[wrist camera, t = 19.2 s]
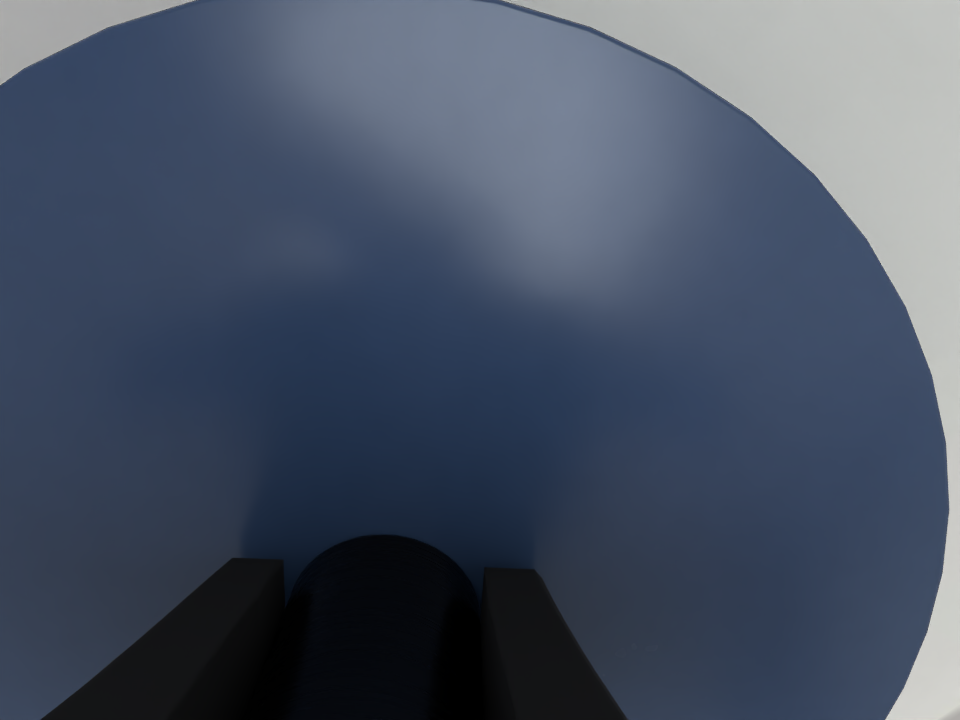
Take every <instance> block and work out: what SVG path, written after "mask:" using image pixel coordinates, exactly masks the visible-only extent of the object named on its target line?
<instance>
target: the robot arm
mask: <svg viewBox="0 0 960 720" xmlns="http://www.w3.org/2000/svg"><path fill="white" fill-rule="evenodd" d="M284 611H285V585H284V560H282V559H256V558H231V559H230V560H229V561H228V562H227V563H226V564H224V565H223V566H222V567H221V568H220V569H219V570H217V571H216V572H215V573H214V574H213V575H211V576H210V577H209V578H208V579H207V580H206V581H204V582H203V583H202V584H201V585H200V586H199V587H198V588H196V589H195V590H194V591H193V592H192V593H191V594H190V595H188V596H187V597H186V598H185V599H184V600H183V601H182V602H180V603H179V604H178V605H177V606H176V607H175V608H174V609H173V610H171V611H170V612H169V613H168V614H167V615H166V616H165V617H163V618H162V619H161V620H160V621H159V622H158V623H157V624H155V625H154V626H153V627H152V628H151V629H150V630H149V631H147V632H146V633H145V634H144V635H143V636H142V637H140V638H139V639H138V640H137V641H136V642H135V643H133V644H132V645H131V646H130V647H129V648H127V649H126V650H125V651H124V652H123V653H121V654H120V655H119V656H118V657H117V658H116V659H114V660H113V661H112V662H111V663H110V664H108V665H107V666H106V667H105V668H104V669H102V670H101V671H100V672H99V673H98V674H97V675H95V676H94V677H93V678H92V679H91V680H89V681H88V682H87V683H86V684H85V685H83V686H82V687H81V688H80V689H79V690H77V691H76V692H75V693H74V694H72V695H71V696H70V697H69V698H67V699H66V700H65V701H63V702H62V703H61V704H60V705H58V706H57V707H56V708H54V709H53V710H52V711H51V712H49V713H48V714H47V715H46V716H44V717H43V718H42V719H40V720H244V718H245V715H246V713H247V710H248V707H249V705H250V702H251V699H252V697H253V694H254V691H255V689H256V686H257V683H258V680H259V678H260V675H261V672H262V670H263V667H264V664H265V662H266V659H267V656H268V654H269V651H270V648H271V646H272V643H273V640H274V638H275V635H276V632H277V630H278V627H279V624H280V622H281V619H282V616H283V614H284ZM480 633H481V663H482V689H483V714H484V720H628V719H627V717H626V716H625V714H624V713H623V711H622V710H621V708H620V707H619V705H618V704H617V702H616V701H615V699H614V698H613V696H612V695H611V693H610V692H609V690H608V689H607V687H606V686H605V684H604V683H603V682H602V680H601V679H600V677H599V676H598V674H597V673H596V671H595V669H594V668H593V666H592V665H591V663H590V662H589V660H588V658H587V657H586V655H585V654H584V652H583V650H582V649H581V647H580V645H579V644H578V642H577V640H576V639H575V637H574V635H573V634H572V632H571V630H570V629H569V627H568V625H567V624H566V622H565V620H564V618H563V616H562V615H561V613H560V611H559V609H558V608H557V606H556V604H555V602H554V600H553V598H552V596H551V595H550V593H549V591H548V589H547V587H546V585H545V583H544V581H543V579H542V577H541V576H540V575H539V574H538V573H537V572H536V571H535V569H517V568H491V567H484V578H483V591H482V605H481V618H480Z"/></svg>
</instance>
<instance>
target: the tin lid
mask: <svg viewBox="0 0 960 720" xmlns="http://www.w3.org/2000/svg"><path fill="white" fill-rule="evenodd" d="M948 515H949V496H948V476H947V455H946V441H945V436H944V432H943V427H942V422H941V417H940V412H939V408H938V403H937V398H936V393H935V389H934V384H933V379H932V375H931V372H930V369H929V367H928V364H927V362H926V359H925V356H924V354H923V351H922V348H921V346H920V343H919V341H918V338H917V335H916V333H915V330H914V328H913V325H912V322H911V320H910V317H909V314H908V312H907V309H906V307H905V305H904V303H903V301H902V300H901V298H900V296H899V294H898V293H897V291H896V289H895V287H894V286H893V284H892V282H891V281H890V279H889V277H888V275H887V274H886V272H885V270H884V268H883V267H882V265H881V263H880V261H879V260H878V258H877V256H876V255H875V253H874V251H873V249H872V248H871V246H870V244H869V242H868V241H867V239H866V238H865V236H864V235H863V234H862V233H861V231H860V230H859V229H858V228H857V226H856V225H855V224H854V223H853V222H852V220H851V219H850V218H849V217H848V215H847V214H846V213H845V212H844V210H843V209H842V208H841V207H840V205H839V204H838V203H837V202H836V201H835V199H834V198H833V197H832V196H831V194H830V193H829V192H828V191H827V189H826V188H825V187H824V186H823V184H822V183H821V182H820V181H819V179H818V178H817V177H816V176H815V175H814V174H813V173H812V172H811V171H810V170H809V169H808V168H807V167H805V166H804V165H803V164H802V163H801V162H800V161H799V160H798V159H797V158H796V157H794V156H793V155H792V154H791V153H790V152H789V151H788V150H787V149H786V148H785V147H783V146H782V145H781V144H780V143H779V142H778V141H777V140H776V139H775V138H774V137H772V136H771V135H770V134H769V133H768V132H767V131H766V130H765V129H764V128H763V127H761V126H760V125H759V124H758V123H757V122H756V121H755V120H754V119H753V118H752V117H750V116H749V115H747V114H746V113H744V112H743V111H741V110H740V109H738V108H737V107H735V106H734V105H732V104H731V103H729V102H728V101H726V100H725V99H723V98H722V97H720V96H718V95H717V94H715V93H714V92H712V91H711V90H709V89H708V88H706V87H705V86H703V85H702V84H700V83H699V82H697V81H696V80H694V79H693V78H691V77H690V76H688V75H687V74H685V73H684V72H682V71H681V70H679V69H678V68H676V67H674V66H672V65H670V64H668V63H666V62H664V61H662V60H660V59H657V58H655V57H653V56H651V55H649V54H647V53H645V52H642V51H640V50H638V49H636V48H634V47H632V46H630V45H628V44H625V43H623V42H621V41H619V40H617V39H615V38H613V37H610V36H608V35H606V34H604V33H602V32H600V31H598V30H596V29H593V28H591V27H589V26H585V25H582V24H579V23H575V22H572V21H569V20H565V19H562V18H559V17H555V16H552V15H549V14H545V13H542V12H539V11H535V10H532V9H529V8H525V7H522V6H519V5H515V4H512V3H509V2H505V1H502V0H195V1H192V2H188V3H185V4H182V5H179V6H176V7H172V8H169V9H166V10H163V11H159V12H156V13H153V14H150V15H146V16H143V17H140V18H137V19H133V20H130V21H127V22H124V23H121V24H117V25H114V26H111V27H108V28H106V29H104V30H102V31H100V32H98V33H95V34H93V35H91V36H89V37H87V38H85V39H83V40H81V41H79V42H77V43H75V44H73V45H71V46H69V47H67V48H65V49H63V50H61V51H59V52H57V53H55V54H53V55H51V56H49V57H47V58H45V59H43V60H41V61H38V62H36V63H34V64H32V65H30V66H28V67H26V68H24V69H23V70H21V71H20V72H19V73H17V74H16V75H14V76H13V77H12V78H10V79H9V80H7V81H6V82H5V83H3V84H2V85H0V720H40V719H42V718H43V717H44V716H46V715H47V714H48V713H49V712H51V711H52V710H53V709H54V708H56V707H57V706H58V705H60V704H61V703H62V702H63V701H65V700H66V699H67V698H69V697H70V696H71V695H72V694H74V693H75V692H76V691H77V690H79V689H80V688H81V687H82V686H83V685H85V684H86V683H87V682H88V681H89V680H91V679H92V678H93V677H94V676H95V675H97V674H98V673H99V672H100V671H101V670H102V669H104V668H105V667H106V666H107V665H108V664H110V663H111V662H112V661H113V660H114V659H116V658H117V657H118V656H119V655H120V654H121V653H123V652H124V651H125V650H126V649H127V648H129V647H130V646H131V645H132V644H133V643H135V642H136V641H137V640H138V639H139V638H140V637H142V636H143V635H144V634H145V633H146V632H147V631H149V630H150V629H151V628H152V627H153V626H154V625H155V624H157V623H158V622H159V621H160V620H161V619H162V618H163V617H165V616H166V615H167V614H168V613H169V612H170V611H171V610H173V609H174V608H175V607H176V606H177V605H178V604H179V603H180V602H182V601H183V600H184V599H185V598H186V597H187V596H188V595H190V594H191V593H192V592H193V591H194V590H195V589H196V588H198V587H199V586H200V585H201V584H202V583H203V582H204V581H206V580H207V579H208V578H209V577H210V576H211V575H213V574H214V573H215V572H216V571H217V570H219V569H220V568H221V567H222V566H223V565H224V564H226V563H227V562H228V561H229V560H230V559H231V558H256V559H282V560H284V585H285V611H284V614H283V616H282V619H281V622H280V624H279V627H278V630H277V632H276V635H275V638H274V640H273V643H272V646H271V648H270V651H269V654H268V656H267V659H266V662H265V664H264V667H263V670H262V672H261V675H260V678H259V680H258V683H257V686H256V689H255V691H254V694H253V697H252V699H251V702H250V705H249V707H248V710H247V713H246V715H245V718H244V720H484V714H483V689H482V663H481V633H480V618H481V605H482V591H483V578H484V567H491V568H517V569H535V571H536V572H537V573H538V574H539V575H540V576H541V577H542V579H543V581H544V583H545V585H546V587H547V589H548V591H549V593H550V595H551V596H552V598H553V600H554V602H555V604H556V606H557V608H558V609H559V611H560V613H561V615H562V616H563V618H564V620H565V622H566V624H567V625H568V627H569V629H570V630H571V632H572V634H573V635H574V637H575V639H576V640H577V642H578V644H579V645H580V647H581V649H582V650H583V652H584V654H585V655H586V657H587V658H588V660H589V662H590V663H591V665H592V666H593V668H594V669H595V671H596V673H597V674H598V676H599V677H600V679H601V680H602V682H603V683H604V684H605V686H606V687H607V689H608V690H609V692H610V693H611V695H612V696H613V698H614V699H615V701H616V702H617V704H618V705H619V707H620V708H621V710H622V711H623V713H624V714H625V716H626V717H627V719H628V720H885V719H886V717H887V716H888V714H889V712H890V711H891V709H892V707H893V705H894V704H895V702H896V700H897V699H898V697H899V695H900V693H901V692H902V690H903V688H904V686H905V684H906V681H907V679H908V677H909V674H910V672H911V669H912V667H913V665H914V662H915V660H916V657H917V655H918V653H919V650H920V648H921V645H922V643H923V641H924V638H925V636H926V633H927V630H928V627H929V623H930V619H931V615H932V611H933V607H934V603H935V599H936V596H937V592H938V588H939V584H940V580H941V576H942V572H943V563H944V553H945V544H946V534H947V525H948Z"/></svg>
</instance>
